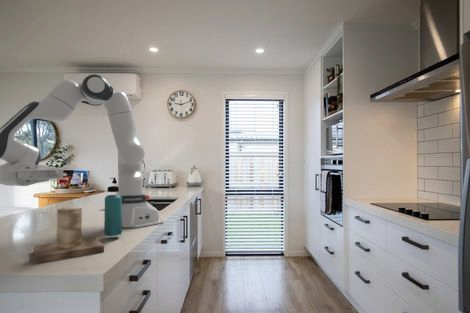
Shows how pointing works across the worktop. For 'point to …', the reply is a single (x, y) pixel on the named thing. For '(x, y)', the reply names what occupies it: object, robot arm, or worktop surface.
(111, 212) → the beverage bottle
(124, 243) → the worktop surface
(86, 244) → the walnut board
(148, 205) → the robot arm
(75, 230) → the oak block
